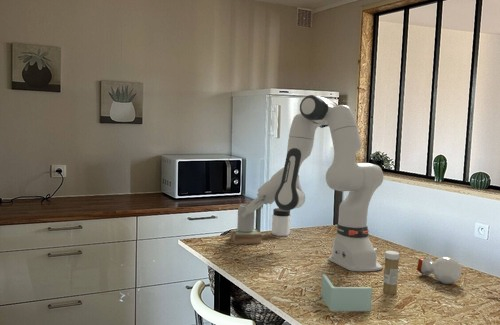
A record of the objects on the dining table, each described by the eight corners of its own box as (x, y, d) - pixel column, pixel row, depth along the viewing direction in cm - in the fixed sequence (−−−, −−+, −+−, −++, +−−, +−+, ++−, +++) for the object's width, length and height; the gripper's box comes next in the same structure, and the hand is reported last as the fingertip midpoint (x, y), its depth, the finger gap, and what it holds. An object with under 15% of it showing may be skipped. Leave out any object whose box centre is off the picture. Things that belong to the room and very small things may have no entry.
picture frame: (261, 243, 209) (261, 233, 208) (234, 244, 206) (235, 234, 206) (255, 237, 219) (256, 228, 218) (230, 238, 216) (230, 229, 215)
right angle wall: (370, 313, 137) (372, 288, 137) (330, 313, 136) (331, 288, 136) (358, 297, 149) (359, 274, 149) (321, 297, 148) (322, 274, 148)
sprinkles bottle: (380, 289, 155) (382, 250, 154) (393, 289, 155) (396, 250, 154) (385, 295, 150) (388, 254, 149) (399, 294, 151) (402, 254, 150)
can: (256, 231, 213) (257, 205, 212) (247, 234, 207) (248, 207, 206) (243, 228, 217) (244, 203, 216) (234, 231, 211) (234, 205, 210)
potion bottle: (457, 292, 159) (420, 284, 172) (471, 272, 163) (433, 265, 176) (447, 272, 156) (410, 265, 169) (460, 252, 160) (423, 247, 173)
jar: (287, 231, 232) (288, 208, 231) (291, 235, 224) (292, 211, 223) (270, 231, 231) (270, 208, 230) (273, 236, 223) (274, 211, 222)
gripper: (267, 203, 198) (244, 224, 201) (276, 196, 218) (255, 215, 221) (257, 192, 199) (234, 213, 202) (267, 186, 218) (246, 205, 222)
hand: (245, 214), depth 211 cm, fingers open, 8 cm apart
